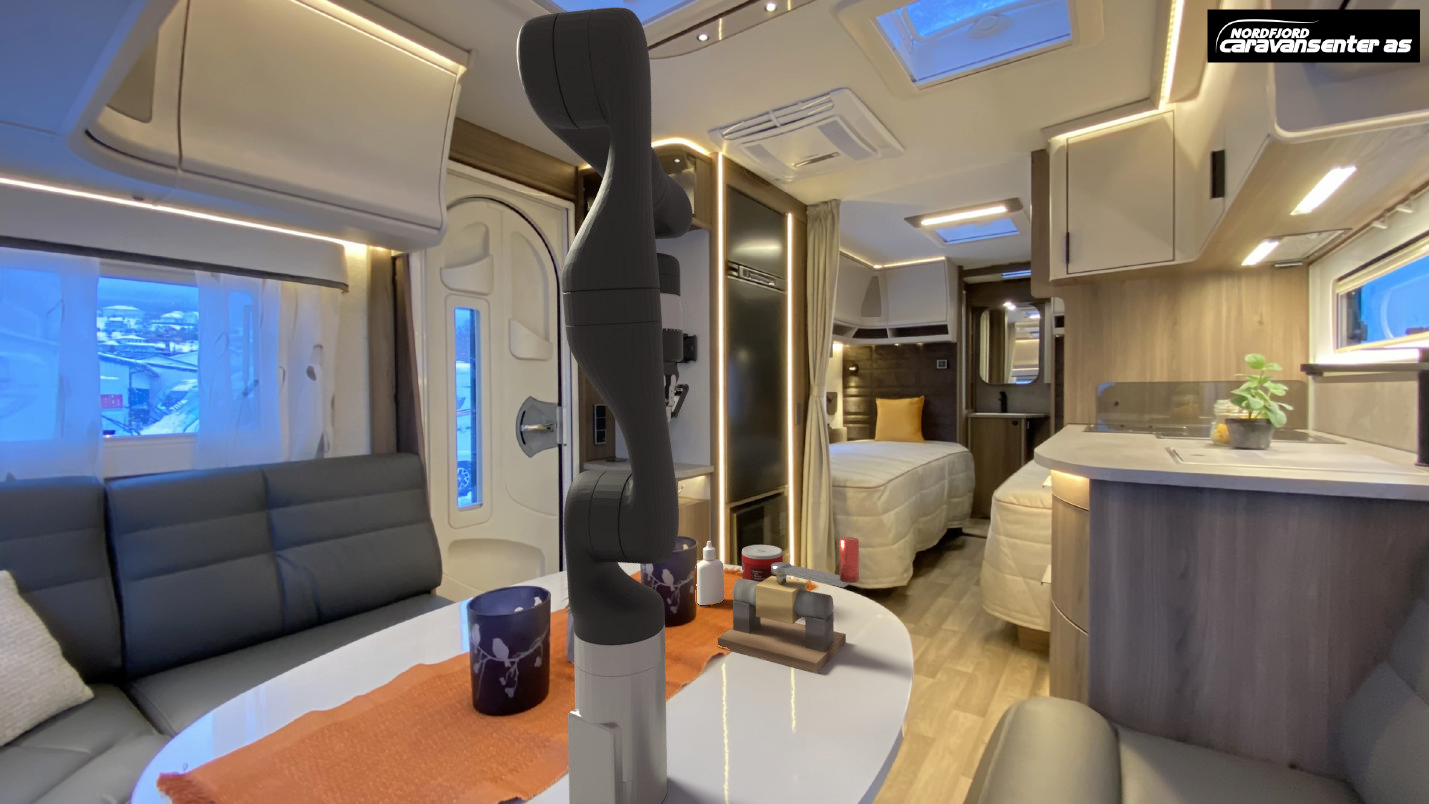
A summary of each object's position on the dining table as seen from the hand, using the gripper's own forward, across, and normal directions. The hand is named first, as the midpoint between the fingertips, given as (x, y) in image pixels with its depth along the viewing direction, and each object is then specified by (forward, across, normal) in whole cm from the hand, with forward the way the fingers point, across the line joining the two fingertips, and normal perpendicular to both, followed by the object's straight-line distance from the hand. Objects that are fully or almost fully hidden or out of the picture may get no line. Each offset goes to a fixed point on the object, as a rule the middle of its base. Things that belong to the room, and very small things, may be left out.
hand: (658, 448), depth 85 cm
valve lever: (+23, +17, -16) cm, 33 cm away
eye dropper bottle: (+33, +28, +10) cm, 45 cm away
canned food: (+33, +31, 0) cm, 45 cm away
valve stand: (+33, +18, -10) cm, 39 cm away
